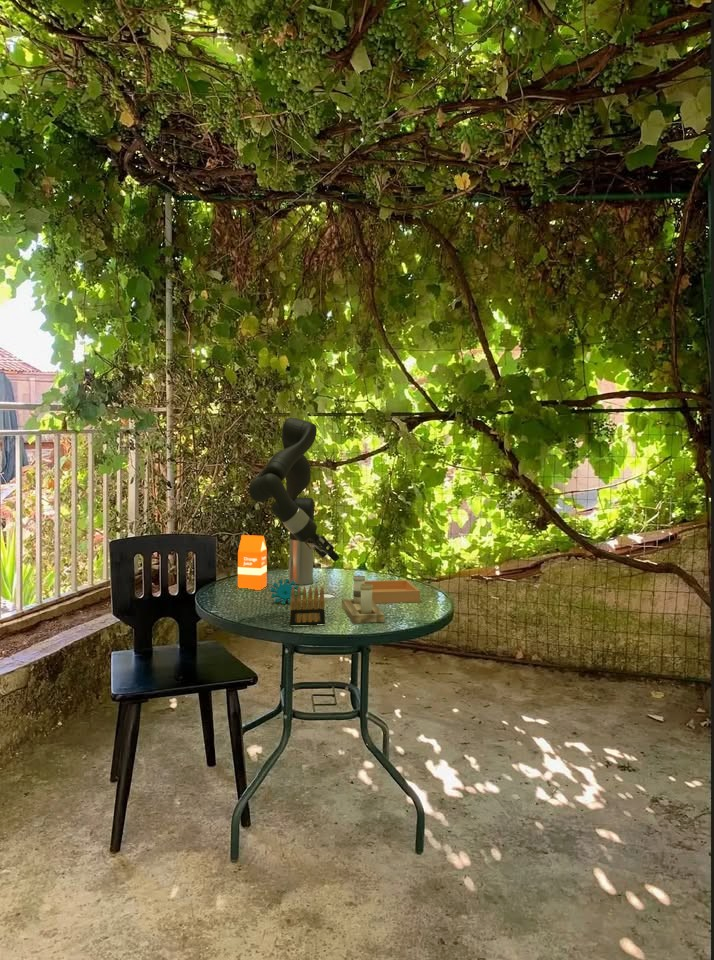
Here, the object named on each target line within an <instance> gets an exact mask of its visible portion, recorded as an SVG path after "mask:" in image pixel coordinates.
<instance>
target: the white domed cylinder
mask: <svg viewBox="0 0 714 960" xmlns="http://www.w3.org/2000/svg"><path fill="white" fill-rule="evenodd" d="M352 580H353V590H352V592H353V594H352V595H353V598H352V599H353V604H361V589H360V585H361V584H365V581H366V576H365V575H360V574H359V575H353V577H352Z"/></svg>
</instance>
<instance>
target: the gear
mask: <svg viewBox="0 0 714 960" xmlns="http://www.w3.org/2000/svg"><path fill="white" fill-rule="evenodd" d="M278 583H279V586H278ZM278 583H277V582H274V583H273V584H272V585H273V587H271V588H270V592H271V598H272V599H275V600H274V601H275V603H279V601H280V602H281V605H282V604H285V605H286V601H287V600H288V601H287V604H288V605H290V600H291V591H292V587H294V590H295V600H296V599H297V590H298V587H300V585H296V584H295V582H294V581H292V582H291V583H289V578H286V579H285V582H284V583H283V579H278ZM295 585H296V586H295ZM300 591H301V596H303V590H300ZM281 600H282V601H281Z"/></svg>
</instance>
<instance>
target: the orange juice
mask: <svg viewBox="0 0 714 960" xmlns="http://www.w3.org/2000/svg"><path fill="white" fill-rule="evenodd" d="M267 551H268V549H267V544H266V540H265V536H264V535H250V534H241V536H240V541H239V547H238V550H237V588H238V587H239V588H248V589H255V590H261V589H263V588H264V587H266V586H267V579H268V578H267V576H268V573H267V572H268V569H267V567H268V565H267V564H268V561H267V560H268V559H267V558H268V556H267V555H268V553H267ZM266 588H267V587H266ZM264 589H265V588H264ZM264 589H263V590H264Z"/></svg>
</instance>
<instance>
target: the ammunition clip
mask: <svg viewBox="0 0 714 960" xmlns="http://www.w3.org/2000/svg"><path fill="white" fill-rule="evenodd" d="M294 587H295V586H292V591H291V600H290V604H289V605H290V606H289V611H290V612H289V624H290V625H317V624H325V625H326V616H325V614H326V613H325V612H326V611H325V604H326V603H325V601H326V600H325V591H324V590H325V589H324V587H323V585H322V586H321V587H320V589H318V587H317V586H315V588H314V591H313V588H312V586H309V588H308V594H307V588H306V586H303V589H302V590H301V587H300V586H299V587H298V590H296V589H294ZM295 591H297V599H296V600H295ZM301 591H303V595H301ZM319 591H320V592H319ZM307 595H308V596H307ZM290 625H289V626H290Z"/></svg>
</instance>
